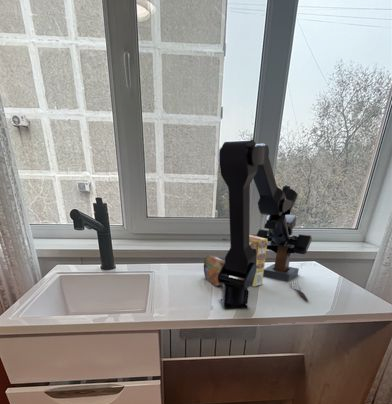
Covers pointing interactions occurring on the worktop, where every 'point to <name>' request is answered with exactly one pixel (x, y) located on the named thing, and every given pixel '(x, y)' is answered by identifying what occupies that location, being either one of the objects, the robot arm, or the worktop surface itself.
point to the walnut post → (282, 259)
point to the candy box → (258, 257)
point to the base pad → (280, 273)
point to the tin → (213, 269)
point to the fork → (298, 289)
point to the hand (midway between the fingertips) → (284, 255)
